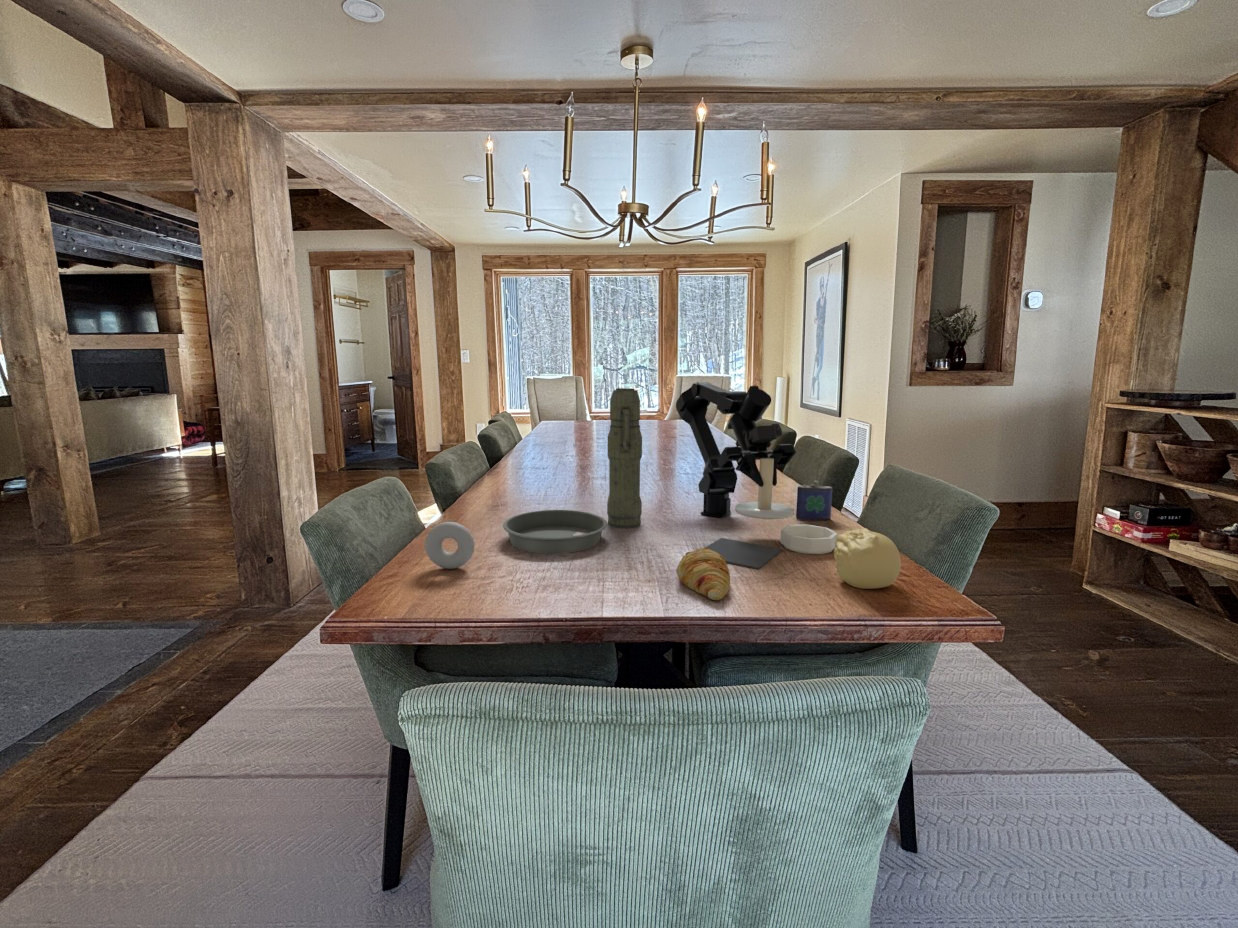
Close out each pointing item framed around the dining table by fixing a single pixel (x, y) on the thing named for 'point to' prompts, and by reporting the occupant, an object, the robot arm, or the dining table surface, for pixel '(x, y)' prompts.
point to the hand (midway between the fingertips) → (768, 485)
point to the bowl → (808, 539)
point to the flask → (814, 502)
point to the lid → (765, 498)
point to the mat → (744, 552)
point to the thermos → (624, 459)
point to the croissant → (705, 573)
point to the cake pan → (554, 530)
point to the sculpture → (866, 559)
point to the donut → (446, 558)
